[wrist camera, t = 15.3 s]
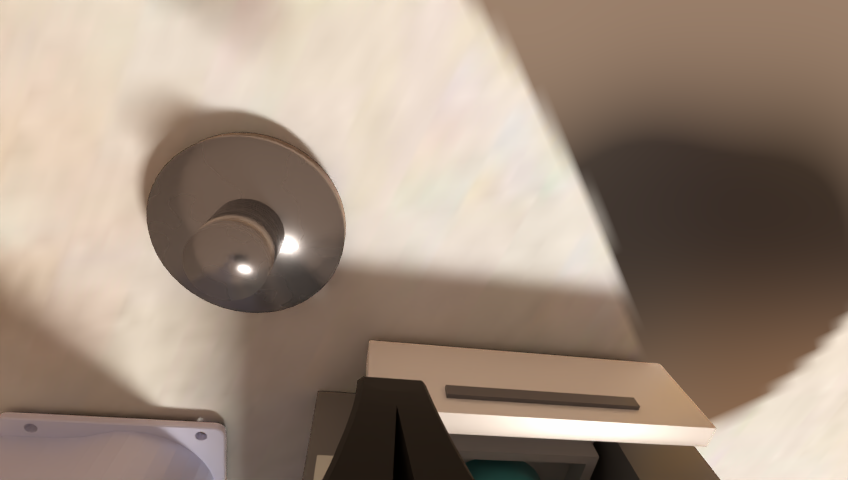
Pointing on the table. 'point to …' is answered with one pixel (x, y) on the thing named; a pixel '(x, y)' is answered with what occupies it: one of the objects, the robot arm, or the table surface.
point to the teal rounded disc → (501, 470)
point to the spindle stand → (247, 222)
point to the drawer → (544, 404)
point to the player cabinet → (618, 462)
